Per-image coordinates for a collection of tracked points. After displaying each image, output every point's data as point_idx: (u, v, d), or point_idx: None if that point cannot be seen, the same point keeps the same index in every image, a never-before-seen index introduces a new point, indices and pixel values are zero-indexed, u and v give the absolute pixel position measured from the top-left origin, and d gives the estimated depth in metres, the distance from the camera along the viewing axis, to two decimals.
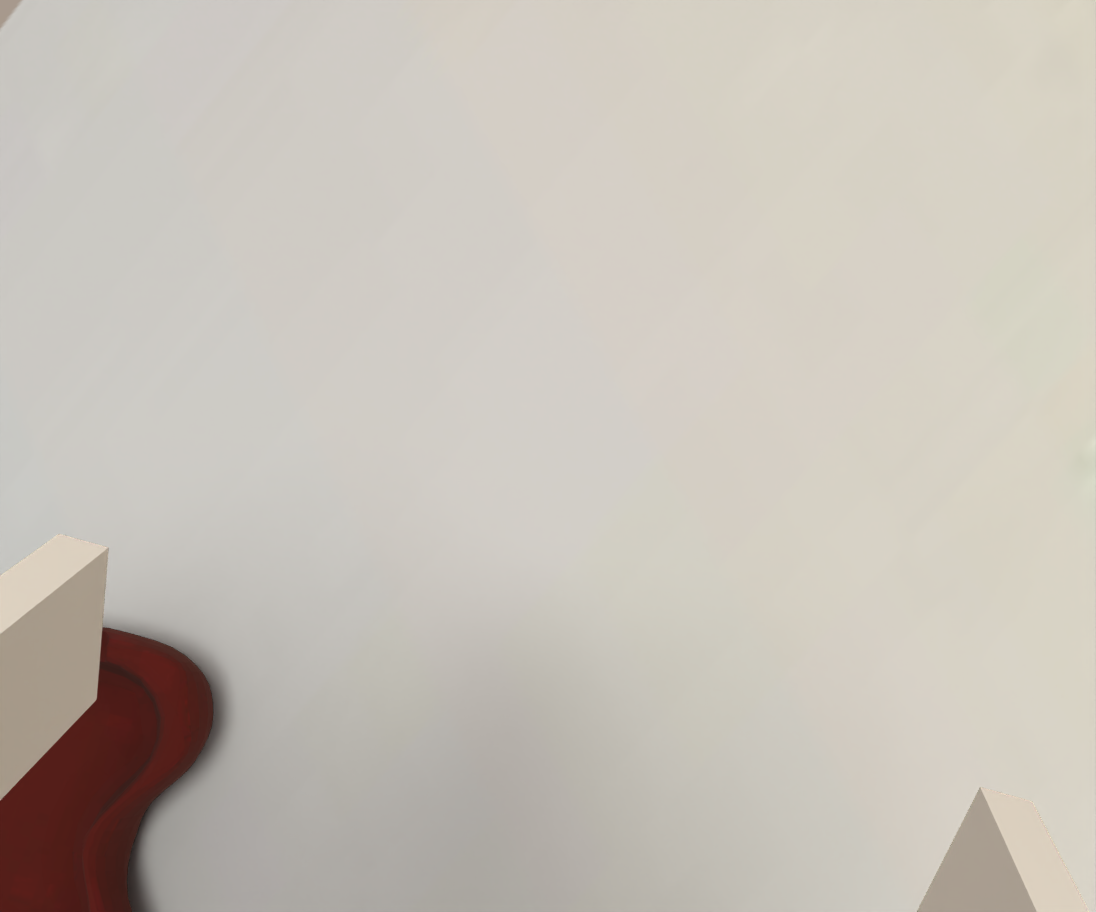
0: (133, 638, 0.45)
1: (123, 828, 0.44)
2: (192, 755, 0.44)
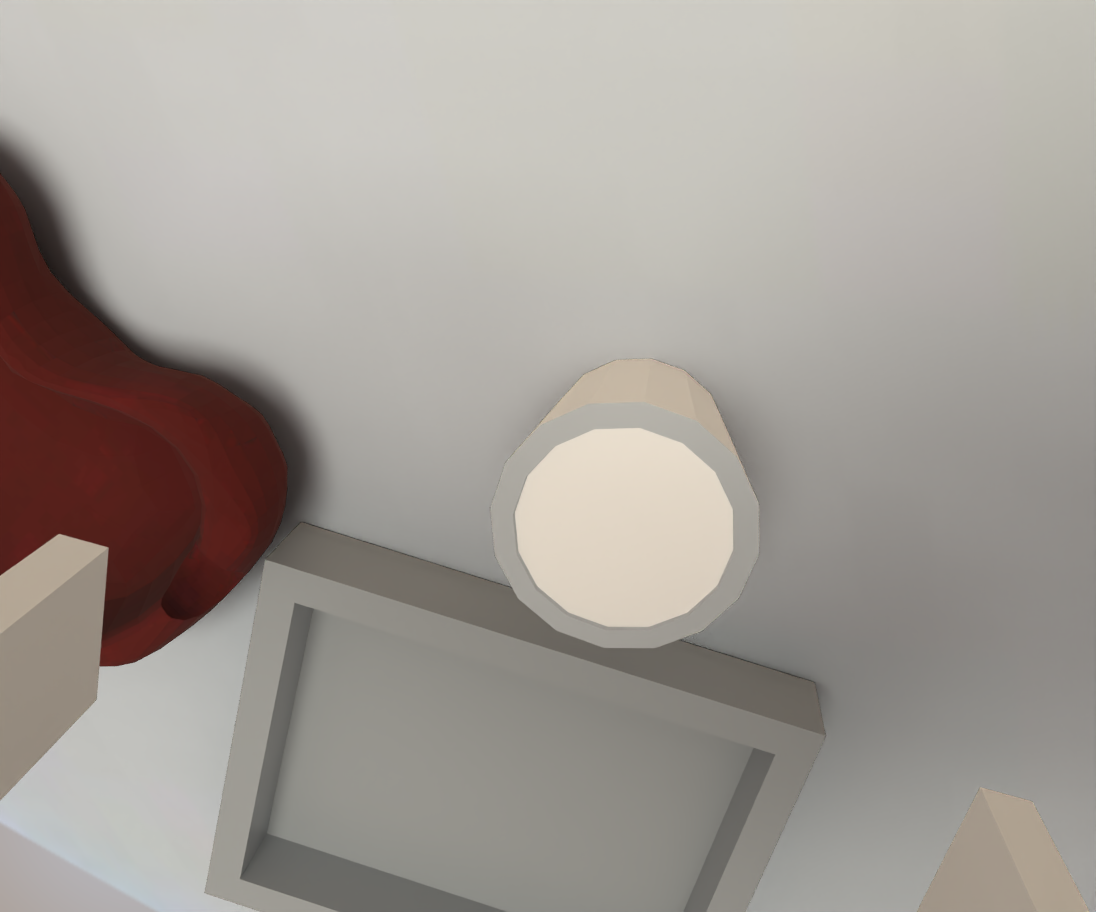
0: None
1: (40, 321, 0.28)
2: None
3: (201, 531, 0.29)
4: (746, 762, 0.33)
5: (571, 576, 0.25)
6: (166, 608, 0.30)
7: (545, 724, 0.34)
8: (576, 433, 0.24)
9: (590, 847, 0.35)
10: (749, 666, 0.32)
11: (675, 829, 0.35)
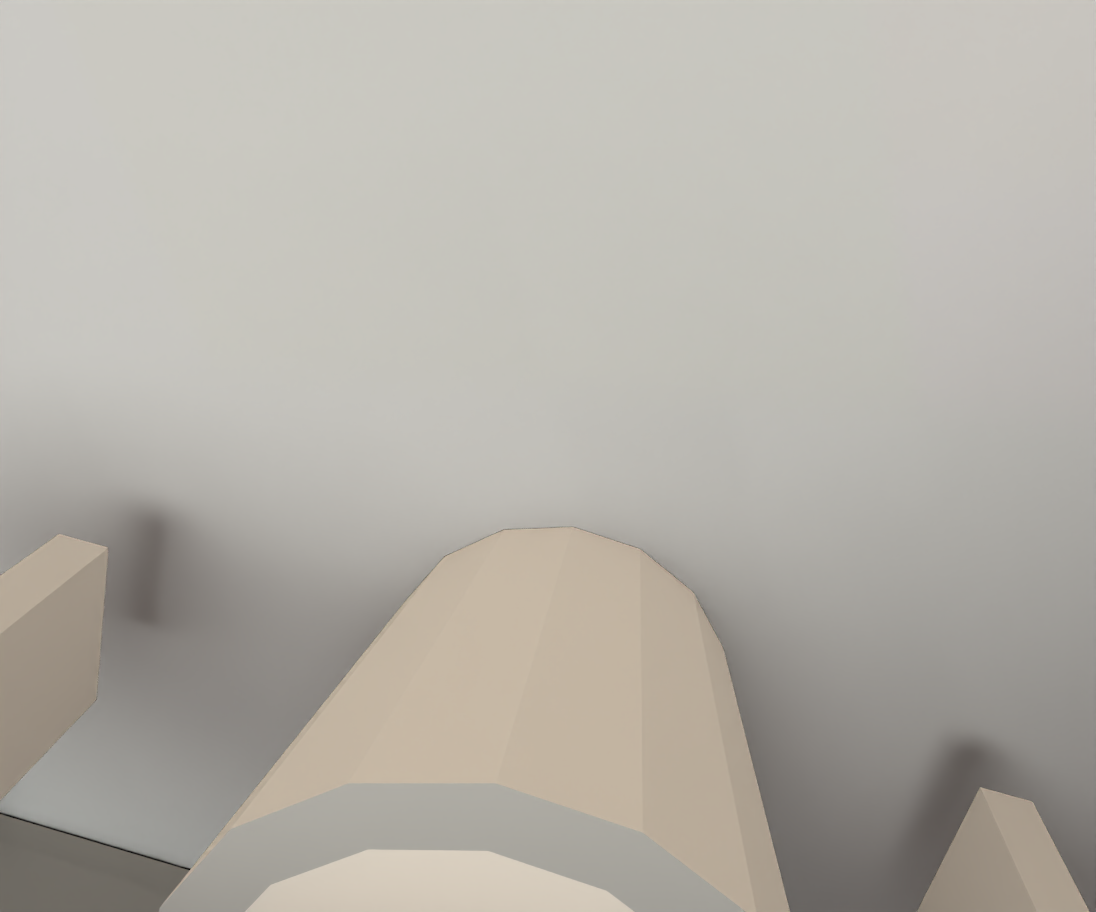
0: None
1: None
2: None
3: None
4: None
5: None
6: None
7: None
8: (325, 853, 0.09)
9: None
10: None
11: None
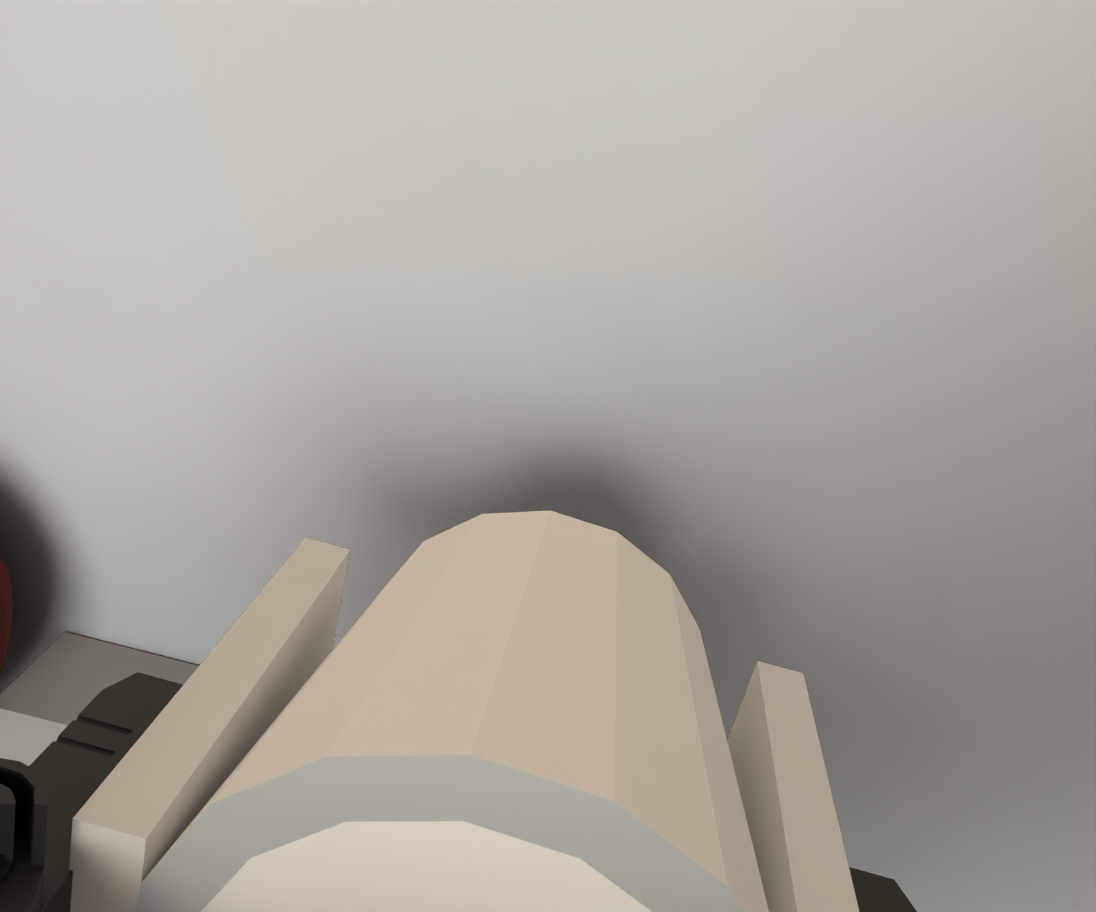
0: None
1: None
2: None
3: None
4: None
5: None
6: None
7: None
8: (304, 826, 0.09)
9: None
10: None
11: None
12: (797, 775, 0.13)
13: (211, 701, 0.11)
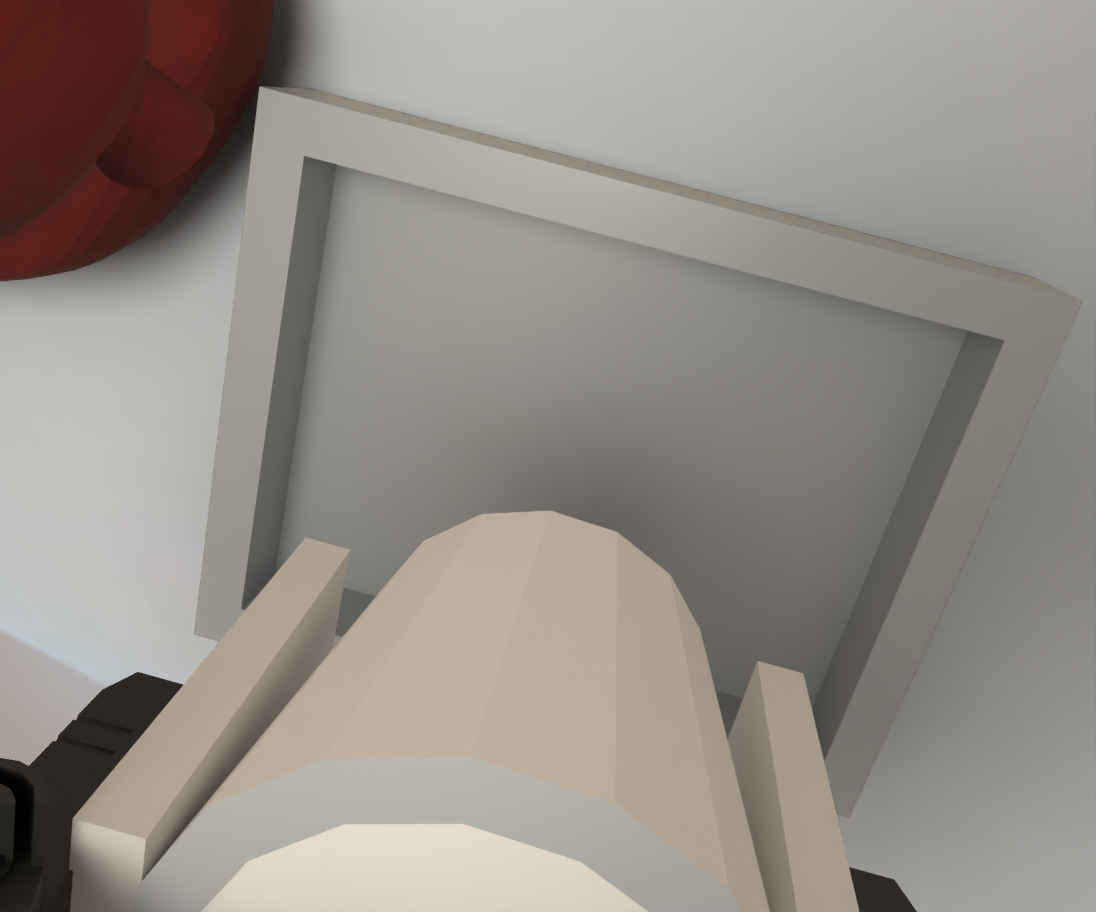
0: None
1: None
2: None
3: (148, 32, 0.20)
4: (935, 404, 0.24)
5: None
6: (103, 169, 0.21)
7: (654, 368, 0.25)
8: (302, 828, 0.09)
9: (714, 552, 0.26)
10: (943, 255, 0.23)
11: (832, 515, 0.25)
12: (797, 775, 0.13)
13: (211, 701, 0.11)
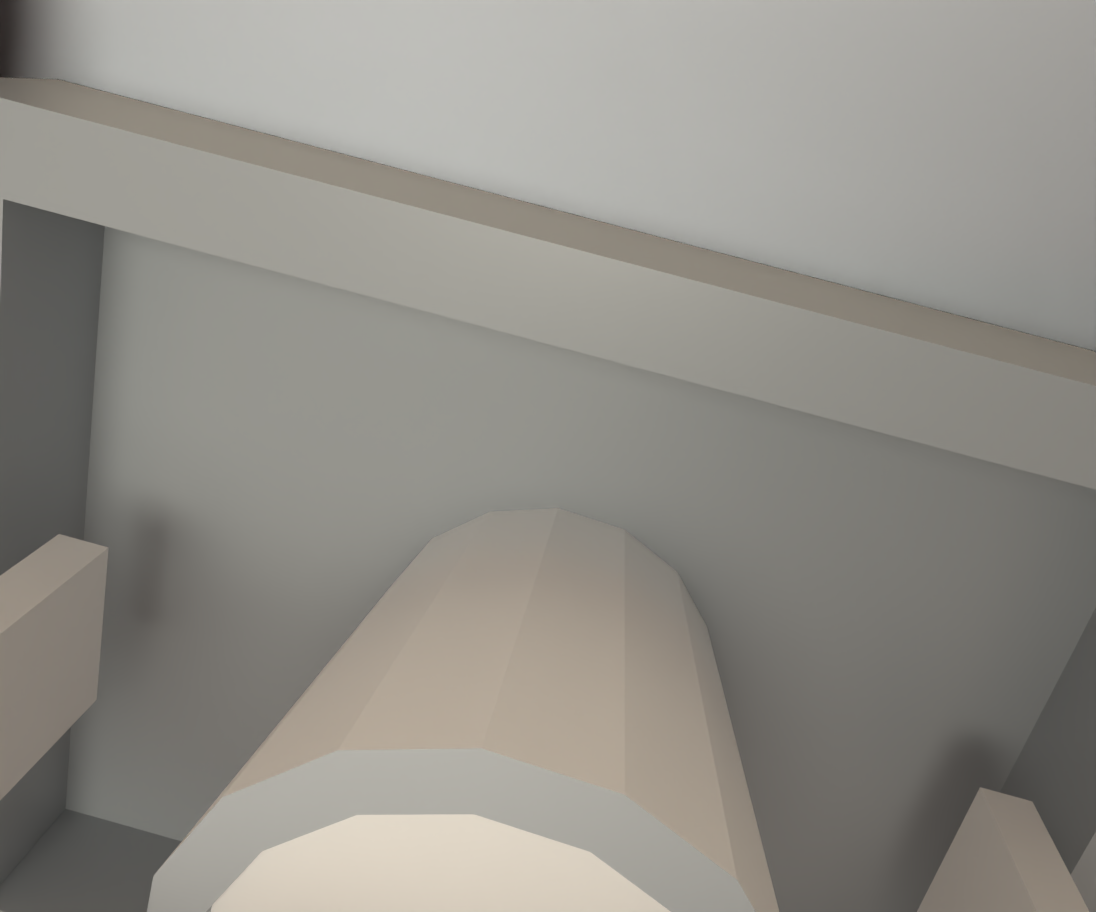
0: None
1: None
2: None
3: None
4: (1095, 598, 0.15)
5: None
6: None
7: (635, 535, 0.15)
8: (315, 819, 0.09)
9: None
10: None
11: (920, 761, 0.16)
12: None
13: None
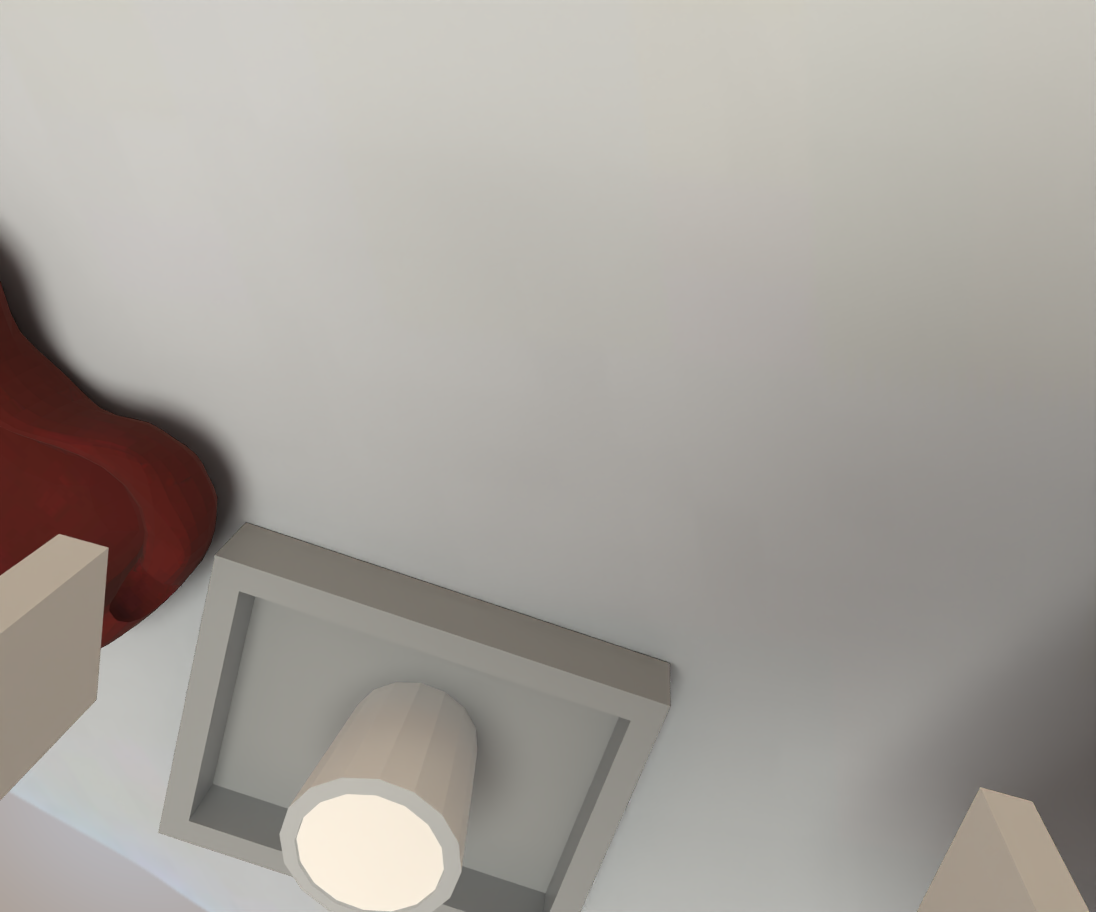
0: None
1: (12, 377, 0.35)
2: None
3: (143, 552, 0.35)
4: (614, 727, 0.41)
5: (337, 878, 0.36)
6: (113, 611, 0.36)
7: (449, 694, 0.41)
8: (334, 794, 0.35)
9: (486, 796, 0.43)
10: (616, 649, 0.40)
11: (556, 782, 0.42)
12: None
13: None
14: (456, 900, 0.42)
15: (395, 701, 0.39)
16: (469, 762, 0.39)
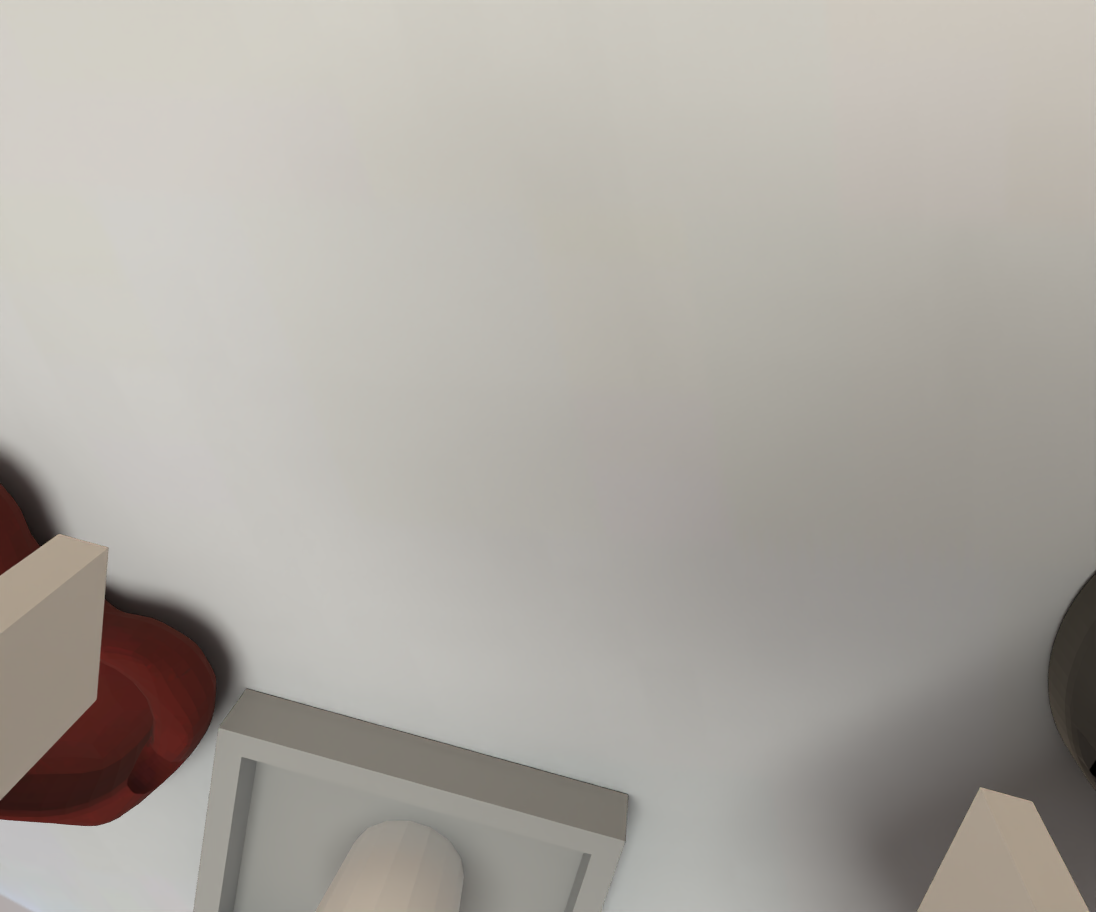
0: None
1: None
2: None
3: (153, 735, 0.41)
4: (583, 852, 0.45)
5: None
6: (130, 785, 0.42)
7: (435, 829, 0.46)
8: None
9: None
10: (579, 785, 0.44)
11: (536, 902, 0.47)
12: None
13: None
14: None
15: (385, 841, 0.44)
16: (453, 894, 0.44)
